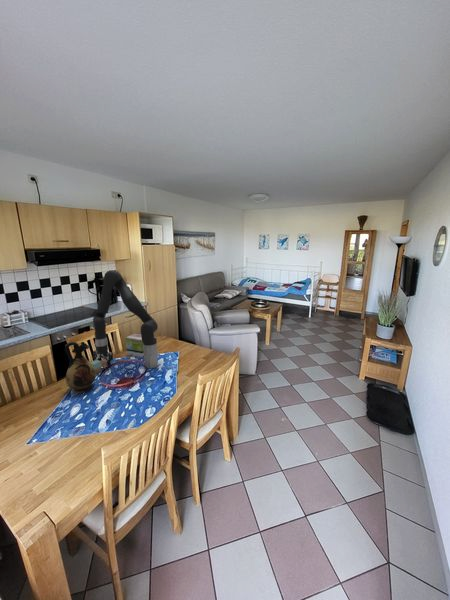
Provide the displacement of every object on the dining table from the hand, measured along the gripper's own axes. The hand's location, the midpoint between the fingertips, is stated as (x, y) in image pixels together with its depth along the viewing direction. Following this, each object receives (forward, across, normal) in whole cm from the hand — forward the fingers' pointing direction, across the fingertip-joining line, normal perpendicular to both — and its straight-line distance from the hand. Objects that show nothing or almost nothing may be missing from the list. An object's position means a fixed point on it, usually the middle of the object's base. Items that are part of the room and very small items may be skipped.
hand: (103, 365), depth 172 cm
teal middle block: (-2, -1, +8) cm, 8 cm away
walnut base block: (+2, -1, +8) cm, 8 cm away
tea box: (+2, -11, -25) cm, 28 cm away
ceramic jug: (+2, -6, +26) cm, 27 cm away
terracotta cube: (+2, 0, 0) cm, 2 cm away
